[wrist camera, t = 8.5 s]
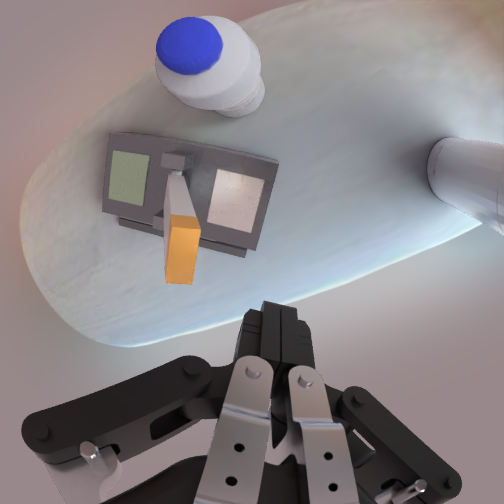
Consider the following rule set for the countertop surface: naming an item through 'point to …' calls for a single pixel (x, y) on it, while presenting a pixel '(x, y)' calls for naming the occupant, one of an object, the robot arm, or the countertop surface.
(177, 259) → the lever
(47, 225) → the countertop surface
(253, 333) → the robot arm
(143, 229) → the dark grey bar
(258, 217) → the switch box
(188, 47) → the bottle
